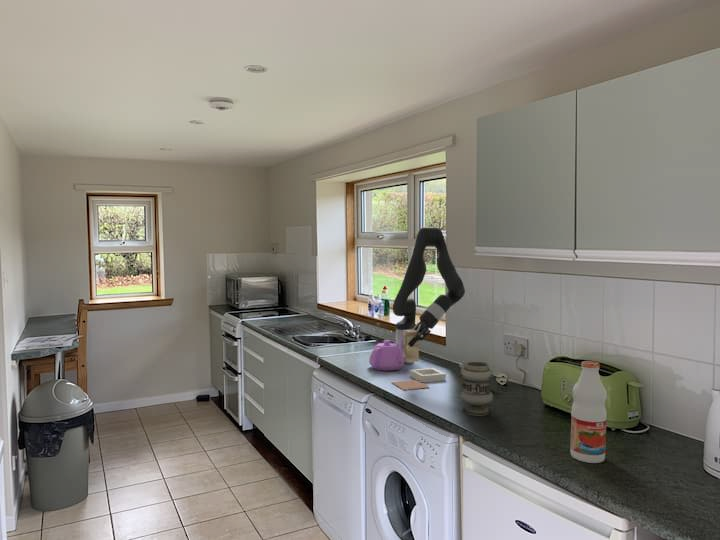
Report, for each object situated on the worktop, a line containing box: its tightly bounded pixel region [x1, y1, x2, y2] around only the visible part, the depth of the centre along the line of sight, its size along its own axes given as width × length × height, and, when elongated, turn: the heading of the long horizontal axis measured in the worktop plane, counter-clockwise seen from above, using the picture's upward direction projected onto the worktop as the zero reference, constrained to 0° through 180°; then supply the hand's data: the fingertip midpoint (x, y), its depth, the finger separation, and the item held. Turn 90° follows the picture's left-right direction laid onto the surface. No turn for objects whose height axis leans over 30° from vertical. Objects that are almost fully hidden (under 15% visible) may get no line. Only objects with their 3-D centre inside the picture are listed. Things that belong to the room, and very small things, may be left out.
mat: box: [391, 379, 430, 391], centre depth 234 cm, size 12×12×1 cm
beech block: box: [403, 330, 420, 363], centre depth 233 cm, size 5×5×13 cm
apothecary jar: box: [459, 360, 494, 417], centre depth 199 cm, size 12×12×18 cm
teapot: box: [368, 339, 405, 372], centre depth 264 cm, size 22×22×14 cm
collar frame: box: [409, 367, 447, 383], centre depth 247 cm, size 12×12×3 cm
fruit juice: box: [570, 360, 608, 464], centre depth 157 cm, size 9×9×28 cm
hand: (407, 344), depth 233 cm, fingers closed on beech block, 5 cm apart
